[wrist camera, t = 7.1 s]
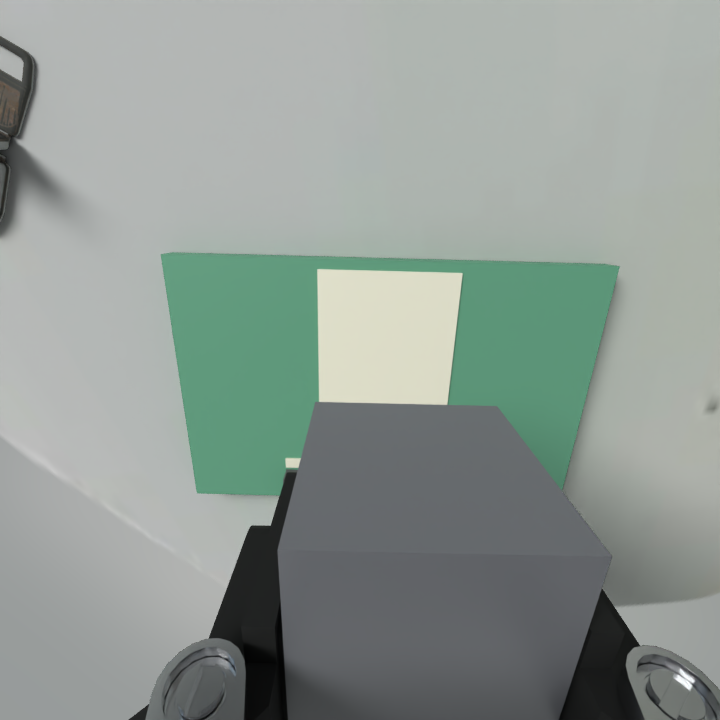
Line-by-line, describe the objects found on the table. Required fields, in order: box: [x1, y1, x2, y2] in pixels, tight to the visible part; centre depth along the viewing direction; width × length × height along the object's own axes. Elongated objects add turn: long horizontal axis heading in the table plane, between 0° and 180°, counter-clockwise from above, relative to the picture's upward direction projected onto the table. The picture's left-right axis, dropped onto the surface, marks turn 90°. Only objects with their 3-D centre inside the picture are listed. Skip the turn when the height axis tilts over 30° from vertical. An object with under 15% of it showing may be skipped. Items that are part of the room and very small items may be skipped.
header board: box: [161, 252, 620, 495], centre depth 18 cm, size 22×14×7 cm, turn 89°
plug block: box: [277, 402, 612, 720], centre depth 8 cm, size 4×6×4 cm
